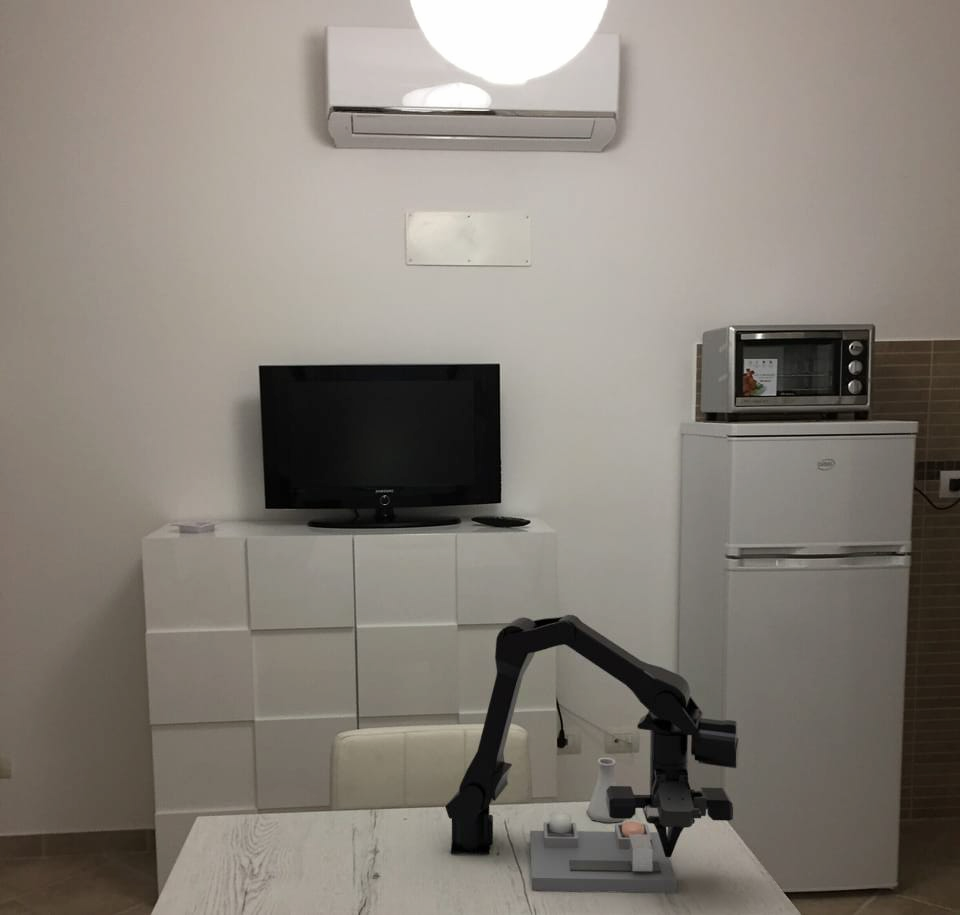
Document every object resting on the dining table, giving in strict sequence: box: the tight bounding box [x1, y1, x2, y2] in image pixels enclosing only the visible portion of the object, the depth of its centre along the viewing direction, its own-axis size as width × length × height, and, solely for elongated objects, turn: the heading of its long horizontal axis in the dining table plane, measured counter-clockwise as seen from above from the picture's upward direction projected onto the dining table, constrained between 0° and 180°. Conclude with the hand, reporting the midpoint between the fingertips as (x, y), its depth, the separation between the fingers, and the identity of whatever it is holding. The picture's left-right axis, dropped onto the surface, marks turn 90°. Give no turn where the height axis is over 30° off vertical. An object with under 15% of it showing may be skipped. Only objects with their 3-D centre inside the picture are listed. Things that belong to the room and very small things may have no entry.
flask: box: [586, 757, 624, 824], centre depth 158 cm, size 7×7×10 cm
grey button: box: [549, 810, 572, 833], centre depth 145 cm, size 4×4×2 cm
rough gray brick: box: [629, 834, 652, 871], centre depth 136 cm, size 3×4×4 cm
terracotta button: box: [622, 821, 644, 838], centre depth 144 cm, size 4×4×2 cm
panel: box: [529, 821, 678, 894], centre depth 140 cm, size 22×15×4 cm
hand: (667, 856), depth 136 cm, fingers closed
